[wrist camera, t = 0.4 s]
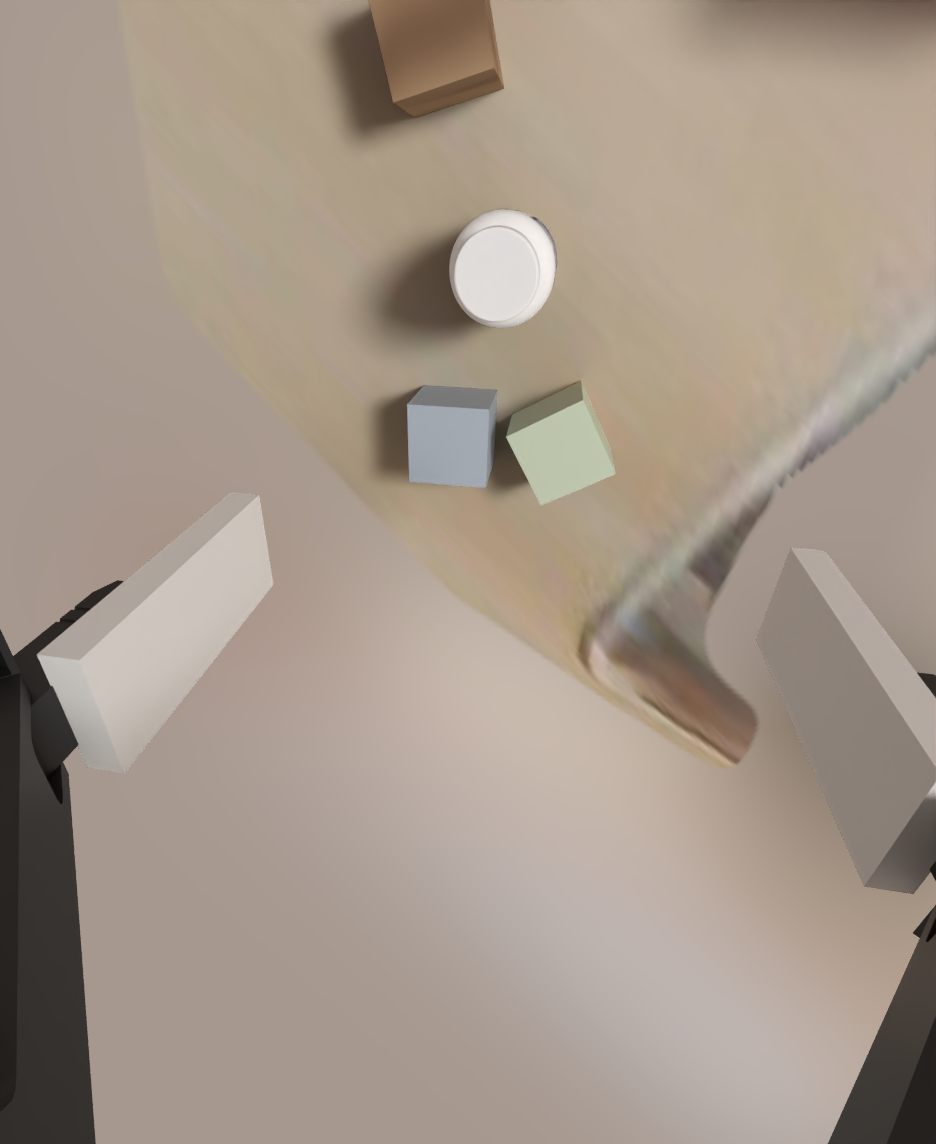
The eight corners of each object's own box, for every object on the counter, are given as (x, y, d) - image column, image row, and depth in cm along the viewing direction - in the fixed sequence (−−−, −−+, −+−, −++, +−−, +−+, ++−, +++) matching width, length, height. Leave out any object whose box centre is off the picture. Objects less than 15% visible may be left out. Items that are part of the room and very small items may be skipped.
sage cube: (512, 414, 40) (506, 436, 36) (581, 380, 38) (583, 400, 34) (543, 476, 42) (540, 505, 38) (610, 447, 40) (615, 474, 36)
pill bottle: (457, 295, 37) (425, 317, 29) (481, 197, 34) (454, 189, 26) (539, 323, 37) (531, 353, 29) (571, 228, 34) (572, 229, 26)
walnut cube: (389, 0, 30) (360, -37, 26) (483, -37, 29) (468, -81, 25) (415, 118, 33) (393, 102, 28) (504, 88, 32) (494, 67, 27)
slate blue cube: (424, 384, 40) (407, 404, 36) (497, 389, 40) (489, 409, 35) (424, 455, 43) (409, 481, 38) (494, 460, 42) (485, 487, 38)
